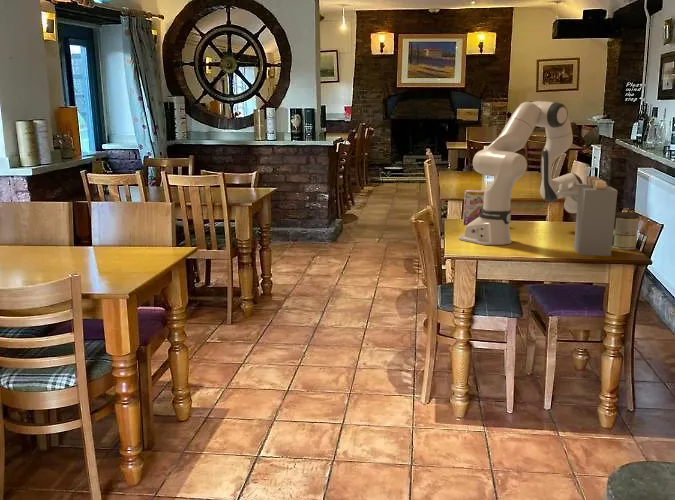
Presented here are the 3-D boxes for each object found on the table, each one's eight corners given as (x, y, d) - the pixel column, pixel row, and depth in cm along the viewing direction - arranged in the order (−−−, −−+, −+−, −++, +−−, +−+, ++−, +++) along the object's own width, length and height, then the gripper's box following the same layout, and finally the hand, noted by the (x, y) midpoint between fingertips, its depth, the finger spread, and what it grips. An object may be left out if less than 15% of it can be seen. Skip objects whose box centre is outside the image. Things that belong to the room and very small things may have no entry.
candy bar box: (463, 224, 325) (465, 191, 321) (462, 222, 330) (464, 189, 326) (487, 225, 324) (489, 191, 320) (485, 223, 329) (487, 190, 325)
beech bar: (605, 190, 260) (606, 182, 259) (596, 189, 261) (596, 182, 260) (594, 183, 278) (595, 176, 278) (586, 183, 279) (586, 176, 278)
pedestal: (611, 255, 264) (617, 190, 258) (579, 254, 266) (585, 189, 260) (604, 249, 276) (610, 186, 270) (573, 247, 278) (579, 185, 272)
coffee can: (603, 245, 282) (607, 212, 279) (622, 243, 286) (625, 211, 283) (622, 250, 273) (626, 216, 270) (641, 248, 277) (645, 215, 274)
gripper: (555, 188, 303) (560, 176, 290) (602, 188, 300) (610, 176, 287) (555, 201, 301) (561, 189, 288) (602, 201, 298) (610, 190, 285)
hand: (586, 183), depth 287 cm, fingers open, 8 cm apart
